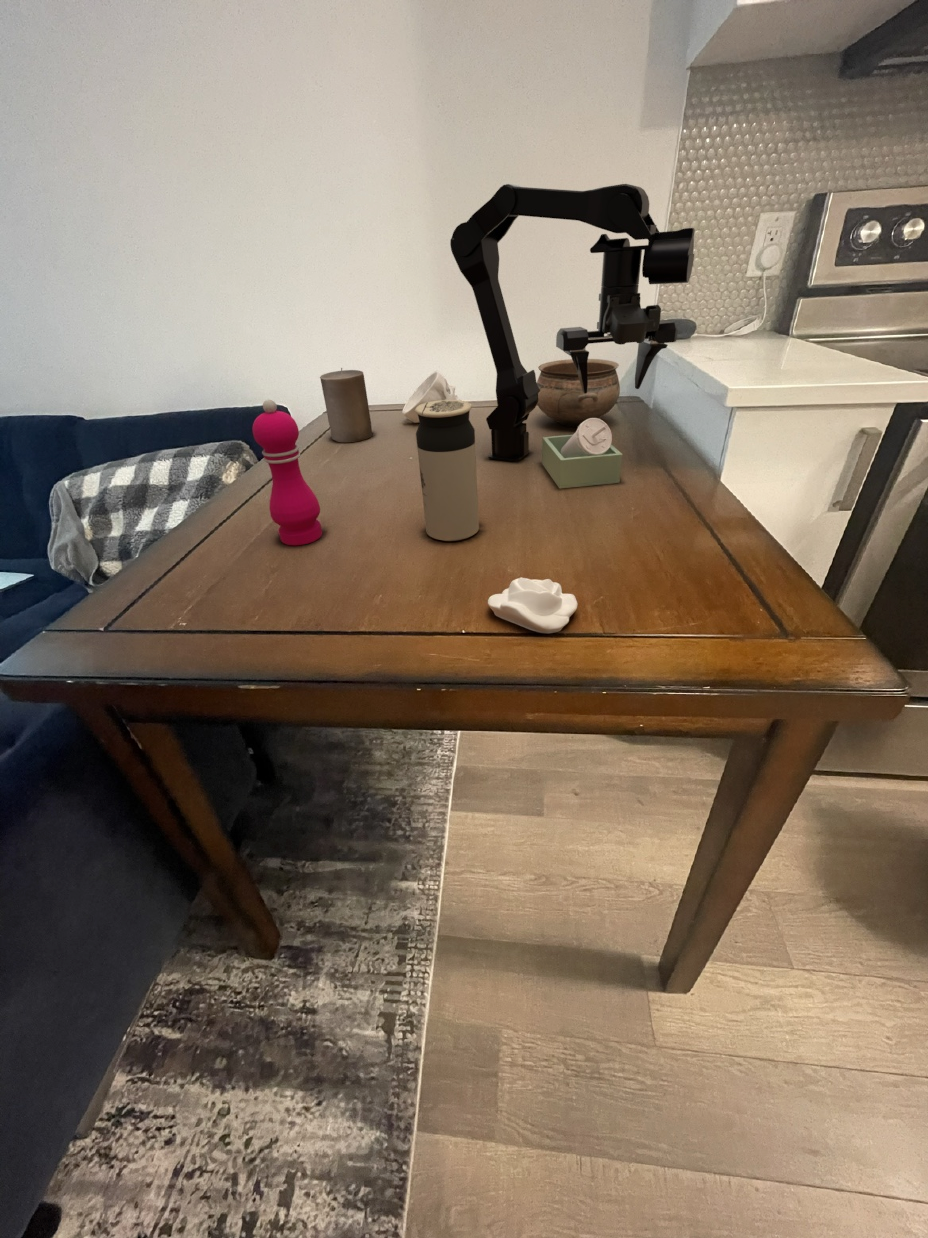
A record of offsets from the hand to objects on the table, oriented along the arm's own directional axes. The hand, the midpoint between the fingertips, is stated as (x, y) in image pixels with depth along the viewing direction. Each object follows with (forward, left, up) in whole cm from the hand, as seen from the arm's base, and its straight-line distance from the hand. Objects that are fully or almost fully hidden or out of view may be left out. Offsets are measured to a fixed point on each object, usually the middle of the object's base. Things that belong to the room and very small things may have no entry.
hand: (611, 390), depth 94 cm
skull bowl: (-48, +20, -13) cm, 54 cm away
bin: (-3, -5, -13) cm, 15 cm away
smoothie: (-6, -3, -11) cm, 13 cm away
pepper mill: (-34, -45, -13) cm, 58 cm away
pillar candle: (-60, +2, -13) cm, 62 cm away
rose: (+6, -51, -13) cm, 53 cm away
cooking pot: (-14, +27, -13) cm, 33 cm away
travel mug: (-13, -35, -13) cm, 40 cm away
